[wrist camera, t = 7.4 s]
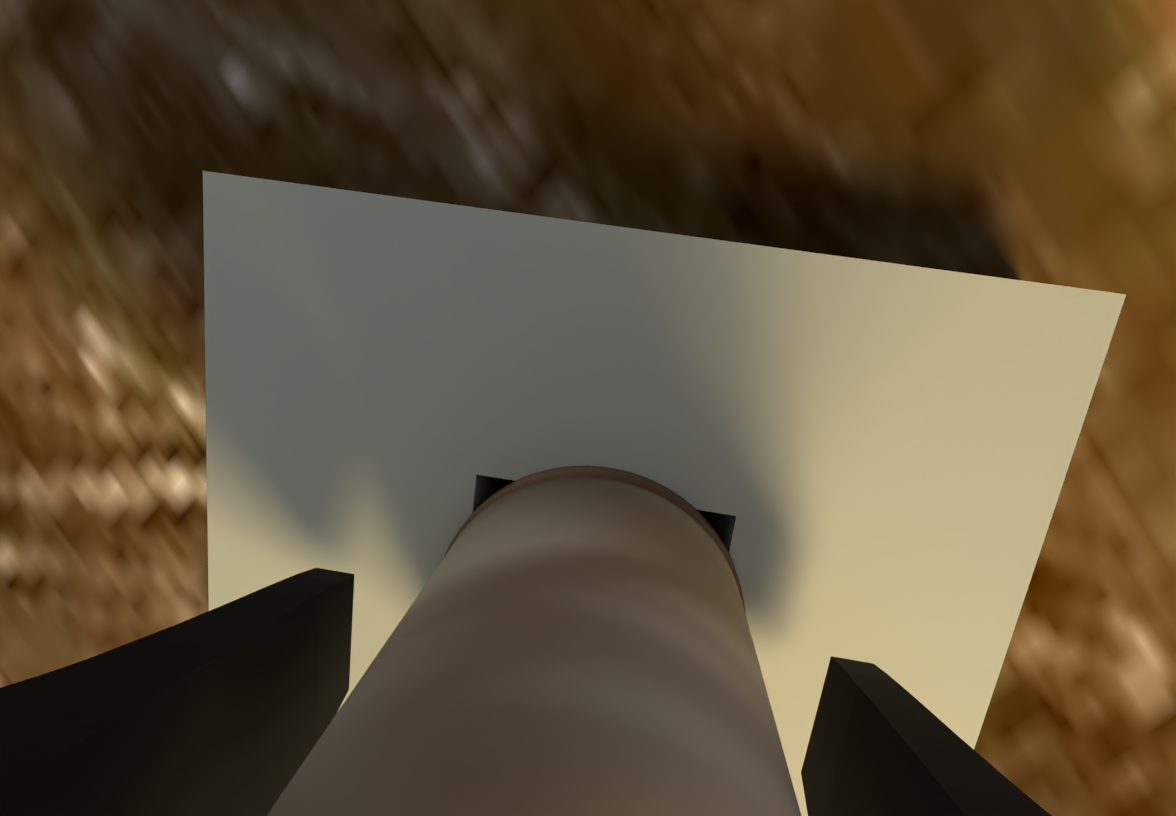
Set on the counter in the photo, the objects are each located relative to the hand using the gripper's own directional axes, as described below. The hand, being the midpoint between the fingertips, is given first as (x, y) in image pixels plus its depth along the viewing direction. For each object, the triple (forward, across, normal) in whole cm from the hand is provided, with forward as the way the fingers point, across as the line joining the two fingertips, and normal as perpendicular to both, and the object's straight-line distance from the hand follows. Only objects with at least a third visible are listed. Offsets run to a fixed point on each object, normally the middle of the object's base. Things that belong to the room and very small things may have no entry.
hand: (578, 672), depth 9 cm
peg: (+4, 0, 0) cm, 4 cm away
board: (+4, 0, 0) cm, 4 cm away
